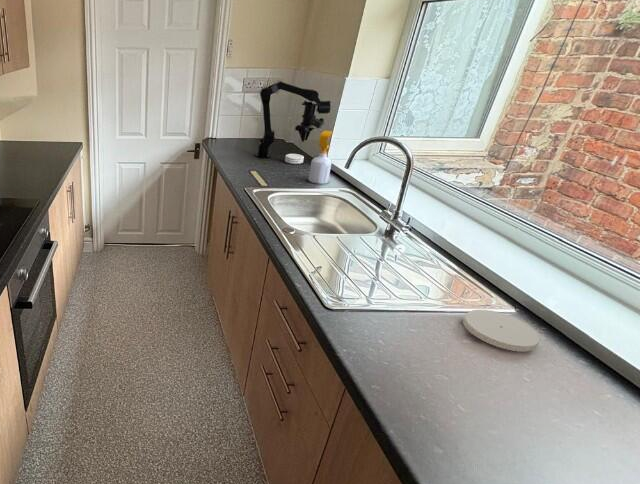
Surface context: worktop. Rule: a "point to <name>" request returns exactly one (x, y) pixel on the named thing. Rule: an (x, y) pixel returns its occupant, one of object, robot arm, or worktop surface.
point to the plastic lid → (501, 330)
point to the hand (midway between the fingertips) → (304, 140)
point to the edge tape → (258, 178)
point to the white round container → (294, 158)
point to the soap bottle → (321, 162)
